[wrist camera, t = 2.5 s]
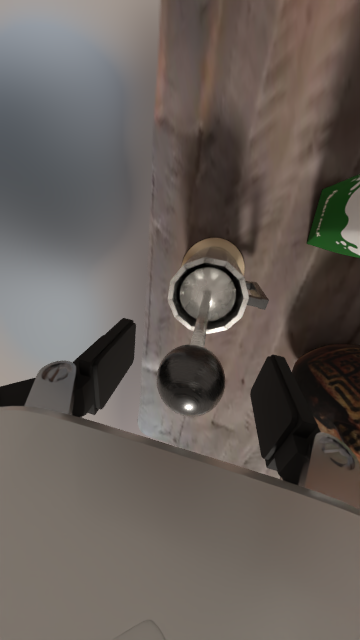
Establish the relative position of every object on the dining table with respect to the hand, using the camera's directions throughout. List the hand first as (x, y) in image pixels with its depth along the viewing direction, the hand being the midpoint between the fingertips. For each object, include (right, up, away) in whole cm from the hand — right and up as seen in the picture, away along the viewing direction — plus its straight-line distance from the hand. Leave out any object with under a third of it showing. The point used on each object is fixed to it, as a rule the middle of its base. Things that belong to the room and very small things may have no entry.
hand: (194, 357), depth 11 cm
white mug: (+6, +10, +22) cm, 25 cm away
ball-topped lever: (+2, +5, +10) cm, 12 cm away
